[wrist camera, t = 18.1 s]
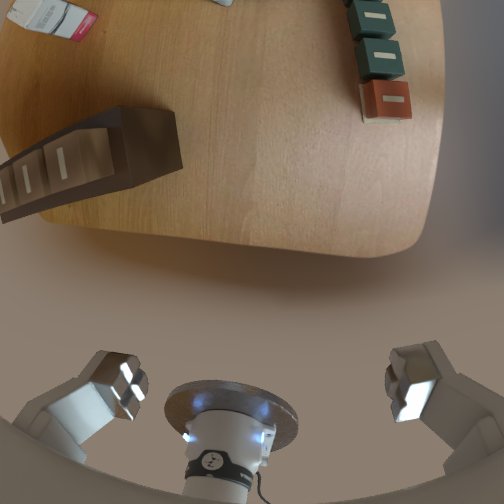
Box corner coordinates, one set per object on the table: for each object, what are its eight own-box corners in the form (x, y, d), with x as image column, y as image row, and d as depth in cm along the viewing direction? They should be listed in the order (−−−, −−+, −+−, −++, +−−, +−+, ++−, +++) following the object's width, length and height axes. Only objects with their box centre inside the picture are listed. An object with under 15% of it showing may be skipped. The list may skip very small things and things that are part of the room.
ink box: (100, 15, 23) (47, -7, 12) (80, 43, 25) (23, 29, 14) (72, 3, 22) (23, -14, 11) (55, 28, 23) (3, 17, 13)
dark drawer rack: (183, 168, 32) (104, 200, 17) (58, 198, 35) (-20, 236, 20) (174, 112, 29) (88, 102, 14) (49, 155, 32) (-33, 179, 18)
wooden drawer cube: (394, 87, 25) (408, 81, 21) (398, 119, 26) (412, 118, 22) (362, 85, 25) (372, 79, 21) (366, 119, 27) (377, 117, 23)
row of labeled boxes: (399, 123, 26) (414, 123, 23) (363, 122, 27) (374, 121, 23) (370, -15, 19) (379, -29, 15) (335, -18, 20) (340, -33, 16)
